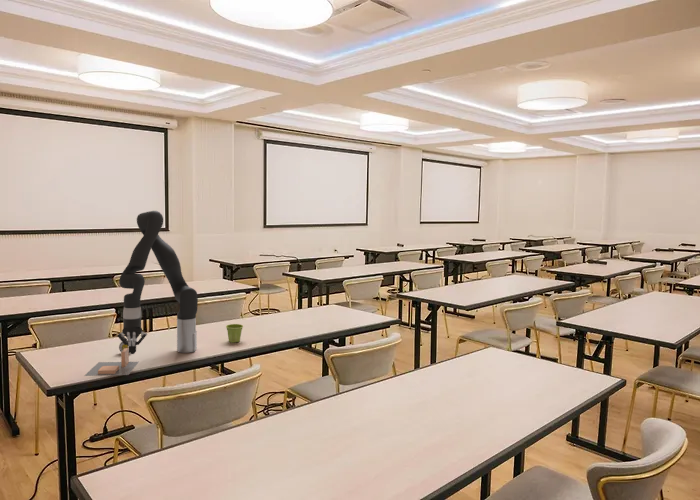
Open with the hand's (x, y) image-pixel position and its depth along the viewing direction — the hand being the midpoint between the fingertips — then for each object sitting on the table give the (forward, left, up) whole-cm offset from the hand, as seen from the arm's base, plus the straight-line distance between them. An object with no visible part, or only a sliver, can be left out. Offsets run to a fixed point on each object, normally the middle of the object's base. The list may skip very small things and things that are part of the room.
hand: (132, 353), depth 230 cm
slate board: (+7, +4, -7) cm, 11 cm away
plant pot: (-43, -41, -7) cm, 60 cm away
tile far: (+3, 0, -5) cm, 6 cm away
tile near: (+4, +9, -5) cm, 11 cm away
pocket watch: (+8, -15, -7) cm, 19 cm away
